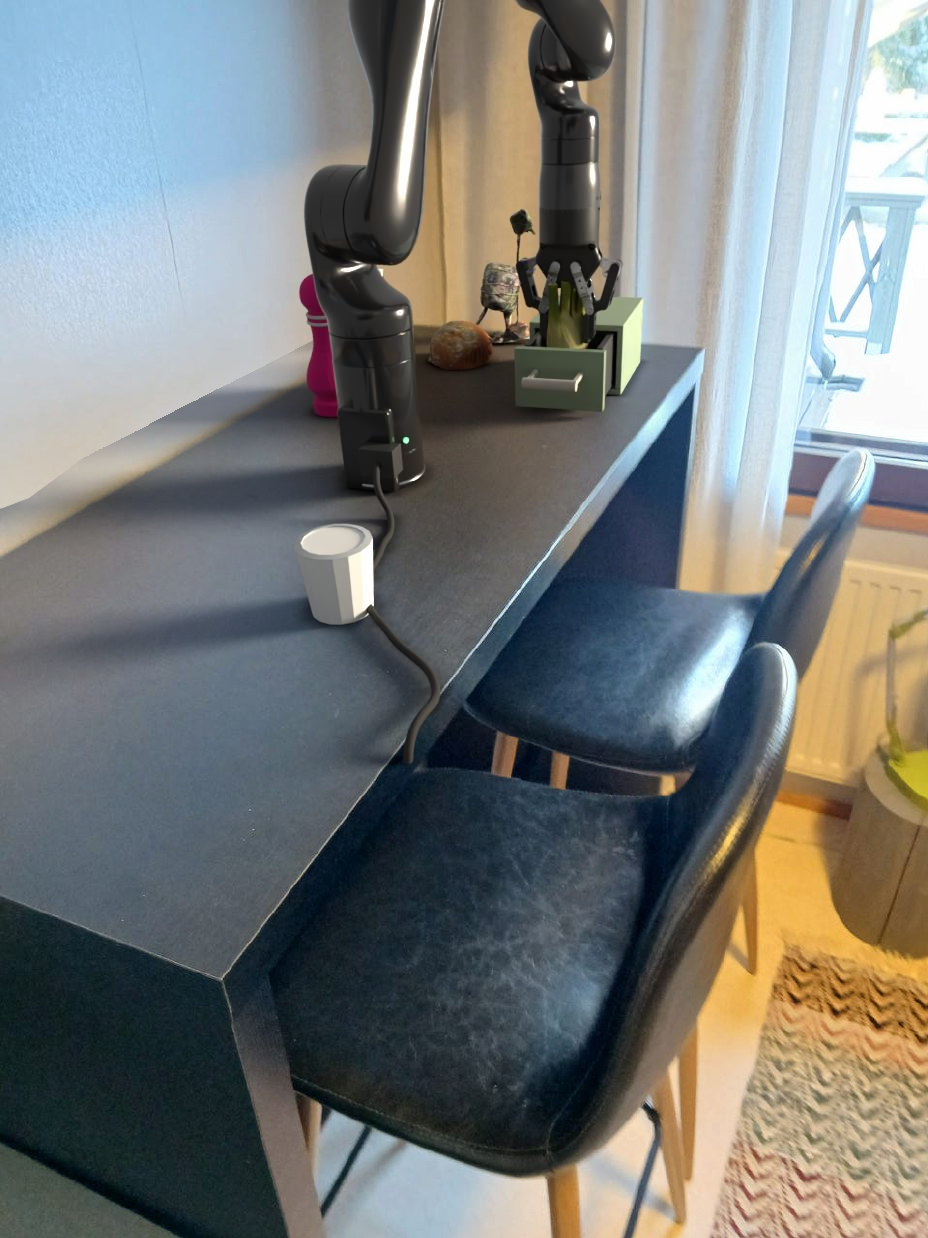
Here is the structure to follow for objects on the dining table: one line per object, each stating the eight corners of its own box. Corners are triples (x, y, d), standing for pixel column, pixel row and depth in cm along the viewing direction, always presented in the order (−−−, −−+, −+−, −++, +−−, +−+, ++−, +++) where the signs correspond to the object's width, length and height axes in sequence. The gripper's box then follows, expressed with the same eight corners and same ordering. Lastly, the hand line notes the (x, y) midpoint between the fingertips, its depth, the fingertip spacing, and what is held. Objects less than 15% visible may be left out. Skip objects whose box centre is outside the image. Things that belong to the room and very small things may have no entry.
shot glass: (343, 582, 89) (334, 515, 85) (395, 603, 85) (388, 534, 82) (289, 613, 85) (277, 544, 81) (342, 636, 81) (331, 566, 77)
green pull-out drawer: (593, 426, 118) (595, 365, 114) (503, 420, 122) (502, 360, 118) (623, 377, 134) (625, 322, 130) (543, 373, 138) (542, 319, 133)
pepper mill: (359, 417, 128) (342, 264, 117) (307, 419, 128) (285, 267, 118) (365, 400, 134) (349, 253, 123) (315, 402, 134) (295, 255, 124)
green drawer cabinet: (620, 395, 130) (623, 325, 125) (530, 389, 134) (529, 322, 129) (640, 362, 143) (643, 297, 138) (556, 357, 147) (556, 294, 141)
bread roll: (434, 376, 153) (411, 334, 148) (487, 342, 153) (465, 299, 148) (452, 394, 145) (427, 351, 140) (507, 358, 145) (485, 313, 140)
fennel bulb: (547, 376, 124) (548, 282, 118) (543, 365, 128) (543, 274, 122) (591, 373, 124) (593, 280, 118) (585, 363, 128) (587, 272, 122)
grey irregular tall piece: (486, 330, 162) (481, 206, 152) (548, 334, 158) (548, 206, 148) (469, 343, 156) (463, 214, 145) (533, 347, 152) (532, 215, 141)
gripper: (505, 206, 114) (508, 346, 123) (621, 206, 110) (615, 351, 119) (522, 197, 120) (523, 331, 129) (632, 197, 116) (626, 335, 125)
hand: (567, 340), depth 124 cm, fingers closed on fennel bulb, 4 cm apart
